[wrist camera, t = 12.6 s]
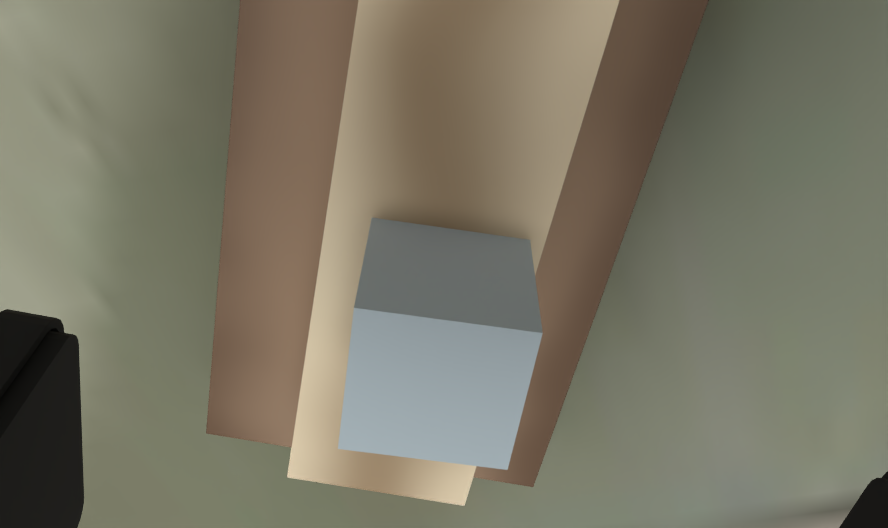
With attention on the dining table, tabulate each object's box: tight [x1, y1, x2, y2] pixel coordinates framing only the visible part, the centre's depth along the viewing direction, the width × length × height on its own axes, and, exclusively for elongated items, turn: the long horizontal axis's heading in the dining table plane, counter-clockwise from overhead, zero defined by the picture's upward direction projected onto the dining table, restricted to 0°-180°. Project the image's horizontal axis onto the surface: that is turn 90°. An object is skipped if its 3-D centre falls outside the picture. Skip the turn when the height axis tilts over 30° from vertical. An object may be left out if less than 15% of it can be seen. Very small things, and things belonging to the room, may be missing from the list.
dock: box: [206, 0, 709, 487], centre depth 26 cm, size 12×22×3 cm, turn 168°
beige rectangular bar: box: [287, 0, 619, 506], centre depth 23 cm, size 6×18×4 cm, turn 168°
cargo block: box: [338, 218, 543, 470], centre depth 21 cm, size 4×4×4 cm
